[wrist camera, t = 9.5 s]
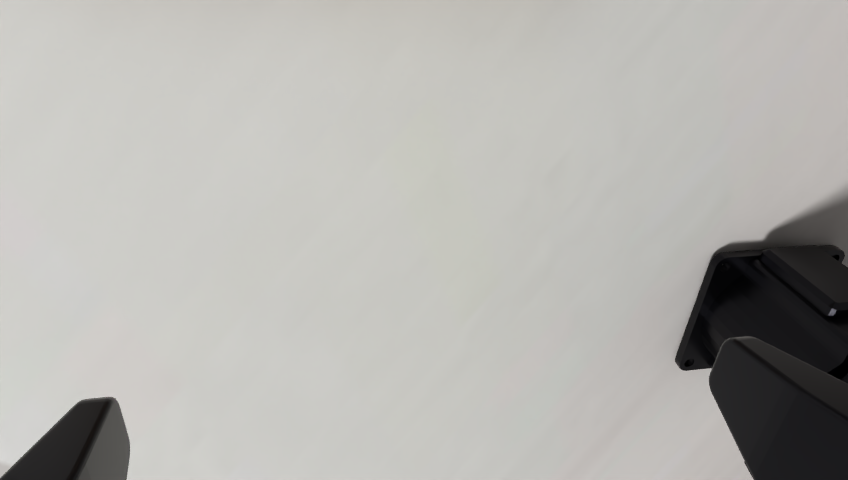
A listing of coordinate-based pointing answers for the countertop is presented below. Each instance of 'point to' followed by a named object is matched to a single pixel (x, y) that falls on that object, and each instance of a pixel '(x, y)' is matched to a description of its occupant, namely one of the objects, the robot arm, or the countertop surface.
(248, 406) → the countertop surface
